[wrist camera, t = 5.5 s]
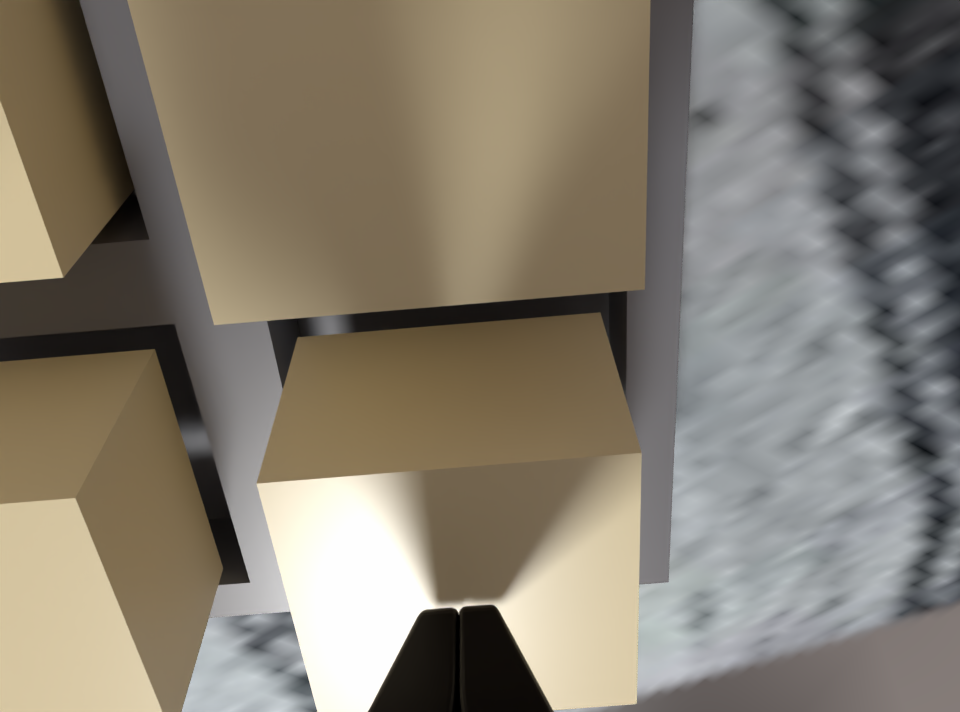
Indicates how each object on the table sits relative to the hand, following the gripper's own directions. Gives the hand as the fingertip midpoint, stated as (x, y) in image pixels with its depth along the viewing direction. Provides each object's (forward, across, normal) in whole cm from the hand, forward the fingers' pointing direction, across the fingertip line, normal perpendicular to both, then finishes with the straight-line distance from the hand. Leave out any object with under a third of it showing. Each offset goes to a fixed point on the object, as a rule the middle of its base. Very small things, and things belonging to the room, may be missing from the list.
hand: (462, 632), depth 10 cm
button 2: (+3, +6, 0) cm, 7 cm away
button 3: (+3, 0, -6) cm, 7 cm away
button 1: (+3, 0, 0) cm, 3 cm away
